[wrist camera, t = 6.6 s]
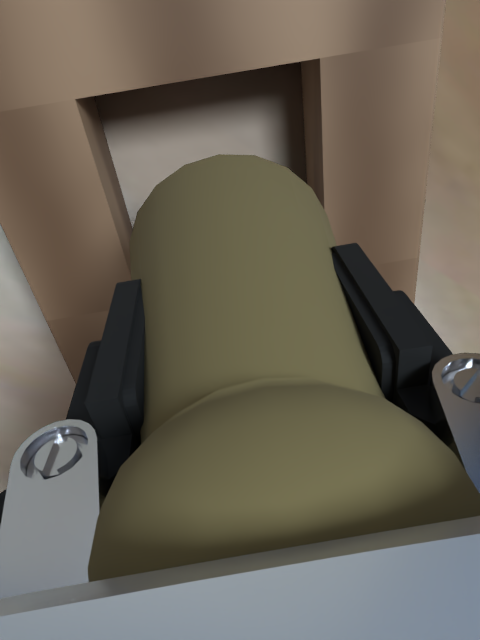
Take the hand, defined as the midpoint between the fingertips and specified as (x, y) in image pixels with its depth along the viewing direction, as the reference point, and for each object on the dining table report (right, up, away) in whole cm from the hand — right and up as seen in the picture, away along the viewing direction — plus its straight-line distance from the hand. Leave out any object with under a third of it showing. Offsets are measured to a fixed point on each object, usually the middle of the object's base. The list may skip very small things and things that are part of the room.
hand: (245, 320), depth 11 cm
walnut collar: (-1, +6, +9) cm, 11 cm away
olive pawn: (0, +2, +3) cm, 3 cm away
